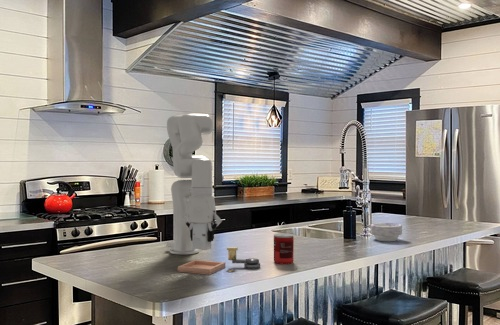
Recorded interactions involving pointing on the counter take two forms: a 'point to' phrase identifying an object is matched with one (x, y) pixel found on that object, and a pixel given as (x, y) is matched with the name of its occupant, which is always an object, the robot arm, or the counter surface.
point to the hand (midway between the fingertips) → (202, 240)
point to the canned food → (283, 248)
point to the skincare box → (200, 237)
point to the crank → (233, 257)
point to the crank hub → (251, 266)
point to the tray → (201, 267)
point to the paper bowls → (386, 231)
